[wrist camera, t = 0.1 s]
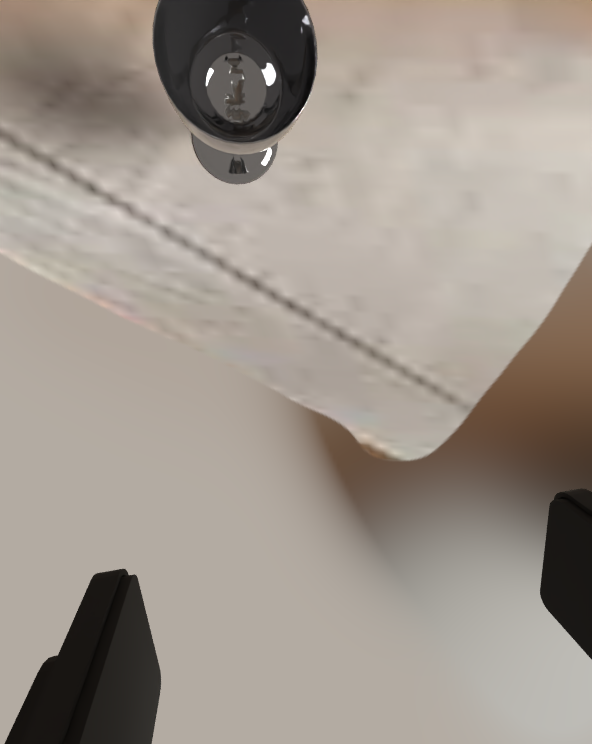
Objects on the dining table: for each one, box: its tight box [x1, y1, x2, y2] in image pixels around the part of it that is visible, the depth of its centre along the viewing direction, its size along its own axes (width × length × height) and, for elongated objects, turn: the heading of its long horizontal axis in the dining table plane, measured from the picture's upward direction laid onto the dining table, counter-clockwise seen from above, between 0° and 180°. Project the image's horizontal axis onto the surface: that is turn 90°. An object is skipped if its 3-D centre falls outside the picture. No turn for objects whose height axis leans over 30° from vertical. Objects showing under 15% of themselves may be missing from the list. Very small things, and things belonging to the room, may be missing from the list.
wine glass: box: [153, 0, 317, 184], centre depth 27 cm, size 8×8×15 cm
